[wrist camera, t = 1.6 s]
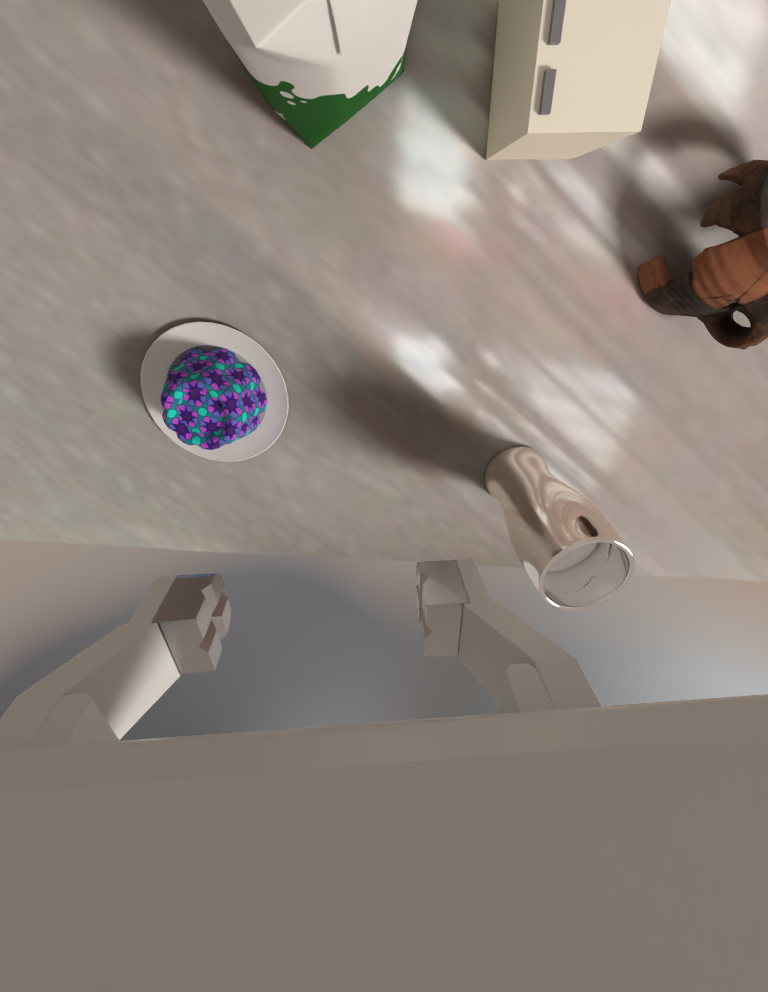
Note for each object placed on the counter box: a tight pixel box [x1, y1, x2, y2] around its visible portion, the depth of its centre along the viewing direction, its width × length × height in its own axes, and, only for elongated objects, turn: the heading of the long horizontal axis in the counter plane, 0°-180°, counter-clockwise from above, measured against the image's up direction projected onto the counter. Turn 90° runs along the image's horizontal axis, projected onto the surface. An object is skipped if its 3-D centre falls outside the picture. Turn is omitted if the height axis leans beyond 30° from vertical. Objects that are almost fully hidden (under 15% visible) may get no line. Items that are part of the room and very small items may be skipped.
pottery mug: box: [638, 160, 768, 349], centre depth 30 cm, size 12×10×8 cm
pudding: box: [140, 322, 289, 462], centre depth 33 cm, size 12×12×5 cm
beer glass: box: [485, 446, 635, 611], centre depth 35 cm, size 7×7×15 cm
